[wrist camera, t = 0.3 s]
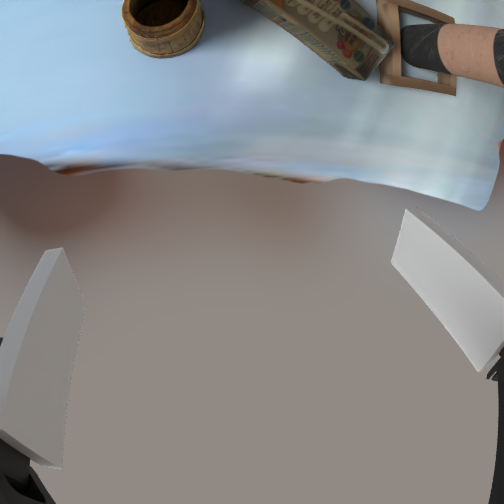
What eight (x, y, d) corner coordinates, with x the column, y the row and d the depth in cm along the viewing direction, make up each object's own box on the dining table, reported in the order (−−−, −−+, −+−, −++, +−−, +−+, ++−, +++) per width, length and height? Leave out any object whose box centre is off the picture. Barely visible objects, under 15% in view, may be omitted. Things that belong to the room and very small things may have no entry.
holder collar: (375, -4, 26) (388, -7, 23) (441, 18, 28) (454, 18, 25) (380, 83, 34) (392, 85, 31) (443, 92, 36) (455, 95, 33)
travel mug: (390, 53, 31) (505, 69, 15) (403, 14, 27) (514, 17, 11) (424, 77, 34) (529, 107, 18) (435, 41, 30) (539, 59, 14)
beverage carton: (342, 81, 33) (369, 85, 28) (224, -6, 24) (232, -21, 19) (372, 43, 30) (401, 43, 25) (262, -44, 21) (277, -63, 16)
